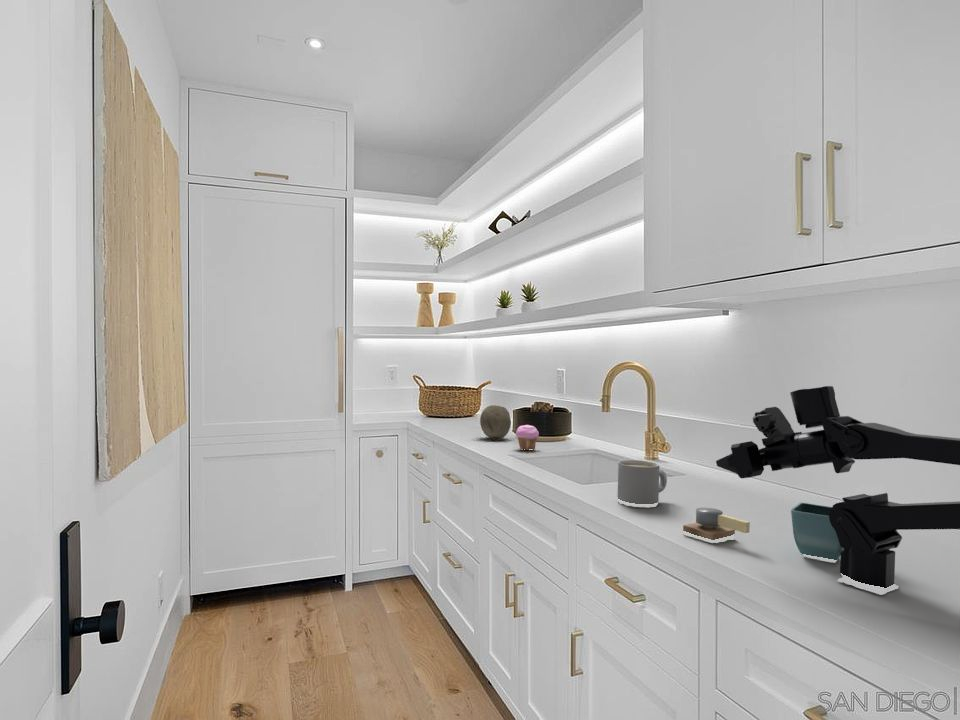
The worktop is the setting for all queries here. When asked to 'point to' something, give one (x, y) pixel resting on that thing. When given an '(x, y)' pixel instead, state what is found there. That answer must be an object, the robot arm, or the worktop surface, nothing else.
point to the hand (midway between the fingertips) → (731, 460)
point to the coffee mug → (640, 481)
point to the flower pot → (815, 531)
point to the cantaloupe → (495, 422)
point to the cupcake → (527, 436)
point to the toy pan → (720, 520)
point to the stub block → (708, 531)
